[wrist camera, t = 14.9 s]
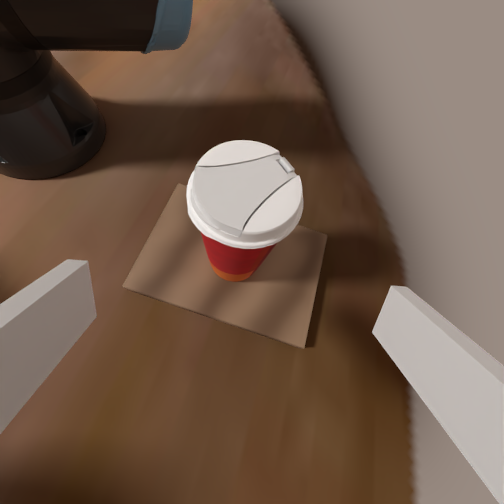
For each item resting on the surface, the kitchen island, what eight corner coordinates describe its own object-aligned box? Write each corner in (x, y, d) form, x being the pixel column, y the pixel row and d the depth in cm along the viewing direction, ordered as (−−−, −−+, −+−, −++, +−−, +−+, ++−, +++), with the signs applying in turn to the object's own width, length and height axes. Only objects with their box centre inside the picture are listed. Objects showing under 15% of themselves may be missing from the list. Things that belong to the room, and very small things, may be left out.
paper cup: (243, 218, 29) (263, 119, 16) (280, 268, 28) (334, 202, 15) (186, 248, 27) (157, 161, 14) (222, 306, 25) (226, 266, 12)
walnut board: (127, 289, 26) (122, 286, 25) (180, 190, 31) (178, 183, 30) (299, 348, 26) (304, 348, 25) (322, 239, 32) (327, 234, 30)
